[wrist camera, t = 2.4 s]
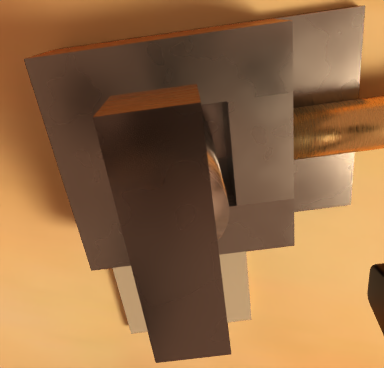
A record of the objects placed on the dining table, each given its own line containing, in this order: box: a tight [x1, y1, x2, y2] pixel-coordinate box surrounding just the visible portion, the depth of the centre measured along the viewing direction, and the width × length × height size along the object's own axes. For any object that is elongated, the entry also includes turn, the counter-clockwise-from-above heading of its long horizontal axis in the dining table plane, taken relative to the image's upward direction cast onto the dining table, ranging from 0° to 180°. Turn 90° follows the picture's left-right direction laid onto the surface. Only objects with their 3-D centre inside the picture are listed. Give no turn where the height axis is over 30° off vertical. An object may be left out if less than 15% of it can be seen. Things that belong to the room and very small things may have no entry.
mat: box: [113, 251, 251, 334], centre depth 23 cm, size 8×6×1 cm
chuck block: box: [24, 6, 384, 271], centre depth 17 cm, size 20×10×4 cm, turn 97°
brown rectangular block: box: [93, 84, 231, 363], centre depth 14 cm, size 4×8×9 cm, turn 8°
